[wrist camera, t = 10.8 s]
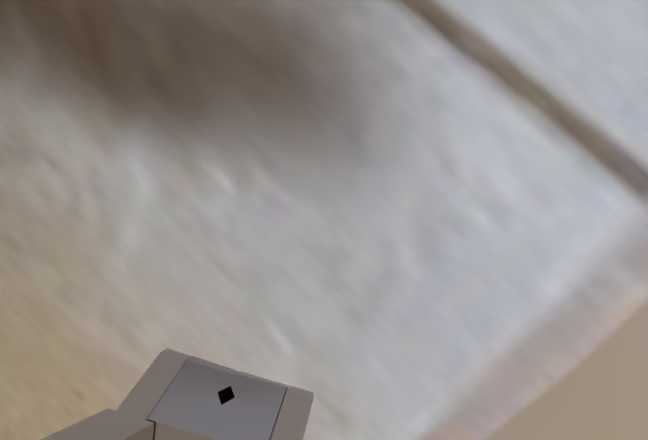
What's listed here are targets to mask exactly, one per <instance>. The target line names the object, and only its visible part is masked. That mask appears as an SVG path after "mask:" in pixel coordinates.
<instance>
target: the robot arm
mask: <svg viewBox="0 0 648 440" xmlns="http://www.w3.org/2000/svg"><path fill="white" fill-rule="evenodd" d="M313 397H314V395H313V392H310V391H306V390H303V389H299V388H296V387H292V386H288V385H285V384H282V383H278V382H275V381H272V380H268V379H265V378H261V377H258V376H254V375H251V374H248V373H244V372H241V371H240V372H239V371H236V370H233V369H230V368H227V367H224V366H221V365H218V364H215V363H212V362H209V361H206V360H203V359H200V358H197V357H194V356H189V355H186V354H183V353H180V352H177V351H174V350H171V349H168V348H167V349H165V350H164V351H162V352H161V353H160V354H159V355H158V356H157V358H156V359H155V360H154V362H153V363H152V364H151V366H150V367H149V368H148V370H147V371H146V372H145V373H144V375H143V376H142V377H141V379H140V380H139V381H138V383H137V384H136V385H135V387H134V388H133V389H132V390H131V392H130V393H129V394H128V396H127V397H126V398H125V400H124V401H123V402H122V404H121V405H120V406H119V407H118V409H117V410H113V409H109V408H108V409H106V410H104V411H101V412H99V413H97V414H95V415H93V416H91V417H88V418H86V419H84V420H82V421H80V422H78V423H76V424H73V425H71V426H69V427H67V428H65V429H63V430H60V431H58V432H56V433H54V434H52V435H50V436H47V437H45V438H43V439H41V440H303V436H304V433H305V429H306V425H307V421H308V417H309V413H310V409H311V405H312V401H313Z"/></svg>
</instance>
